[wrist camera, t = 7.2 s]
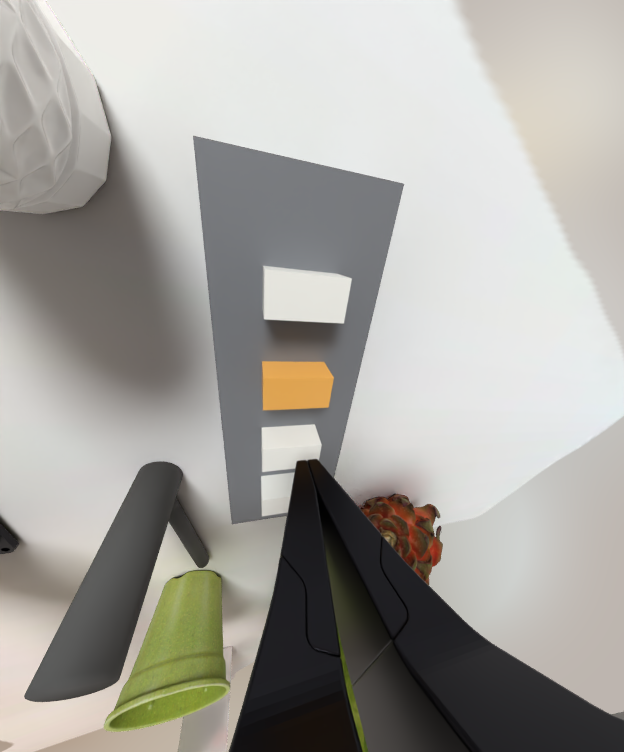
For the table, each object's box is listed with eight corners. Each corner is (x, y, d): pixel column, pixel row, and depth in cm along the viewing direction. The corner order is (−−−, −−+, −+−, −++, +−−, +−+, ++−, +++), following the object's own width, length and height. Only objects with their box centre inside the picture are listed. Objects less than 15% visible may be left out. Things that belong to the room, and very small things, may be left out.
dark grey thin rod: (211, 555, 25) (209, 568, 24) (199, 558, 24) (196, 571, 23) (177, 492, 19) (173, 507, 18) (162, 496, 19) (156, 510, 18)
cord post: (185, 485, 19) (128, 683, 10) (143, 489, 18) (45, 706, 10) (179, 459, 17) (107, 665, 9) (133, 463, 17) (7, 691, 8)
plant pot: (157, 561, 23) (113, 708, 16) (247, 560, 27) (244, 678, 20) (139, 603, 26) (95, 741, 19) (221, 597, 30) (211, 710, 23)
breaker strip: (314, 467, 21) (332, 530, 16) (235, 475, 19) (229, 549, 15) (360, 201, 12) (433, 171, 7) (213, 173, 10) (177, 106, 5)
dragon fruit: (339, 477, 25) (398, 483, 32) (320, 561, 24) (387, 550, 30) (410, 512, 19) (467, 511, 25) (392, 635, 17) (458, 599, 23)
